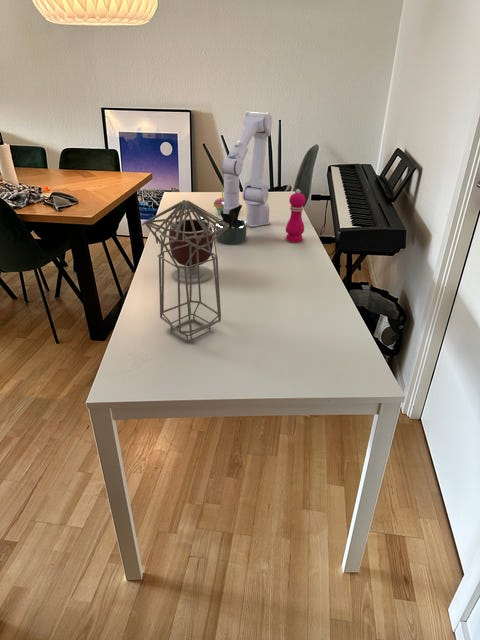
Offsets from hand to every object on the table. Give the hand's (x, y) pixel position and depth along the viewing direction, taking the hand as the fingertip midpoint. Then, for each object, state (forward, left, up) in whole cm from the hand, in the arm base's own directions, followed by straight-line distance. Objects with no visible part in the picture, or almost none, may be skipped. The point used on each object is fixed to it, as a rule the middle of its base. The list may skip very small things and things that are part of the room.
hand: (231, 226), depth 175 cm
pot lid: (+6, -14, -5) cm, 16 cm away
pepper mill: (-22, +12, -5) cm, 26 cm away
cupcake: (-12, -30, -5) cm, 33 cm away
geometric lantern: (+42, +55, -5) cm, 69 cm away
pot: (0, 0, -5) cm, 5 cm away
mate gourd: (+28, +23, -5) cm, 37 cm away
